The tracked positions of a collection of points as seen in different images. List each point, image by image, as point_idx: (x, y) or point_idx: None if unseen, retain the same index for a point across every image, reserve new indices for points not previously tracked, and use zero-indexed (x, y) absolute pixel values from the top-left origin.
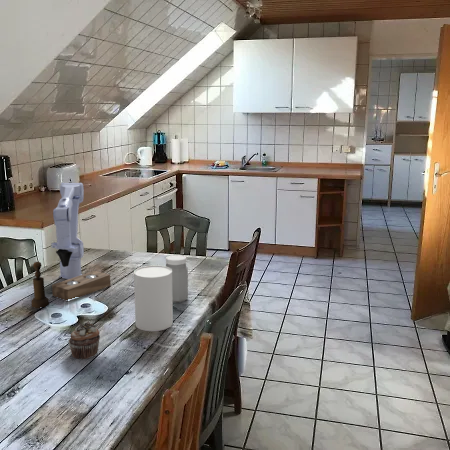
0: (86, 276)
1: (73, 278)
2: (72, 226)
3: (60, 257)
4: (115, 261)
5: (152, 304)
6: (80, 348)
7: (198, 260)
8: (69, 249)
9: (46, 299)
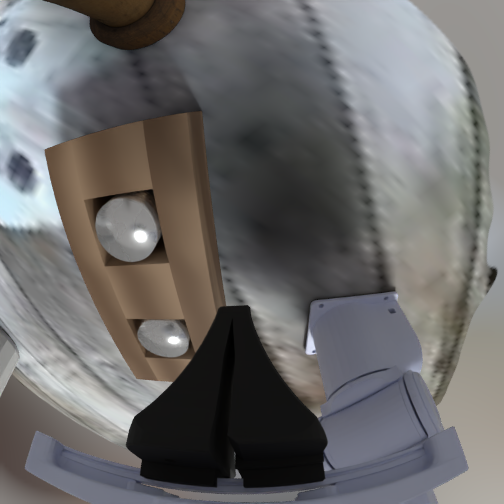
0: (174, 331)
1: (196, 280)
2: None
3: (247, 374)
4: None
5: None
6: None
7: None
8: (64, 474)
9: (94, 28)
